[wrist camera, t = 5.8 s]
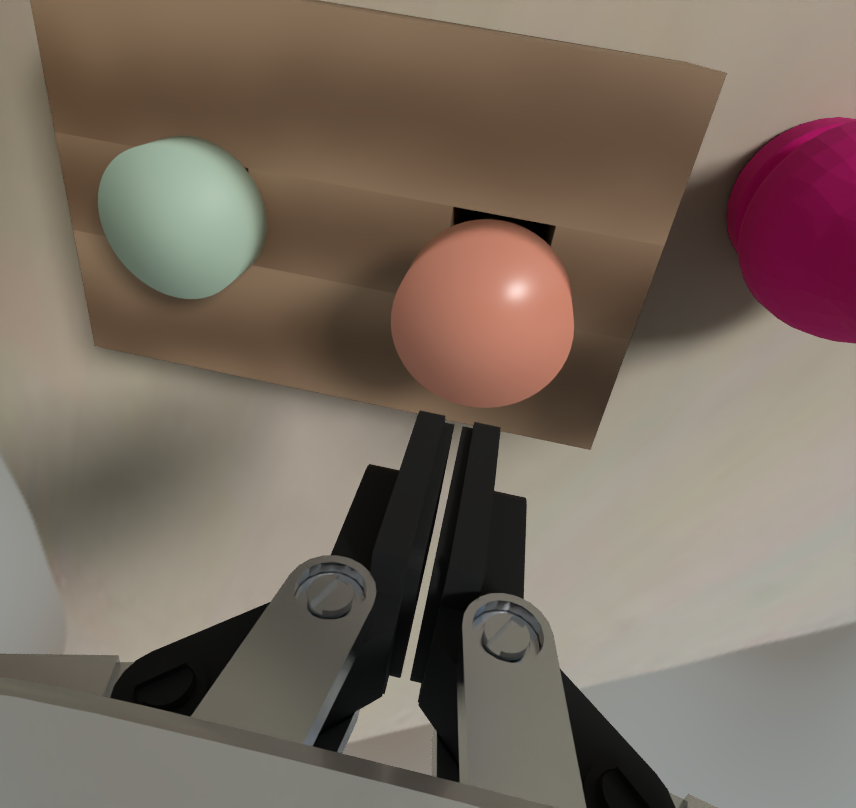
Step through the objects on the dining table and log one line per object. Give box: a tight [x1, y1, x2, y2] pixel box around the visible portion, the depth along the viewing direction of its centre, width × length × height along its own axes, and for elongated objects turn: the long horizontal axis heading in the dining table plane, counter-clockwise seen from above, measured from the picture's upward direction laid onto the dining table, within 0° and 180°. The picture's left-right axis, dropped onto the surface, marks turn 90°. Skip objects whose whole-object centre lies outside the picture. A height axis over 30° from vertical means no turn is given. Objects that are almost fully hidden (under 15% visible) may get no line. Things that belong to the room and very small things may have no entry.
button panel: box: [30, 0, 727, 450], centre depth 25 cm, size 14×22×6 cm, turn 82°
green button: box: [98, 135, 267, 299], centre depth 24 cm, size 5×5×8 cm
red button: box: [391, 215, 574, 408], centre depth 20 cm, size 5×5×8 cm
